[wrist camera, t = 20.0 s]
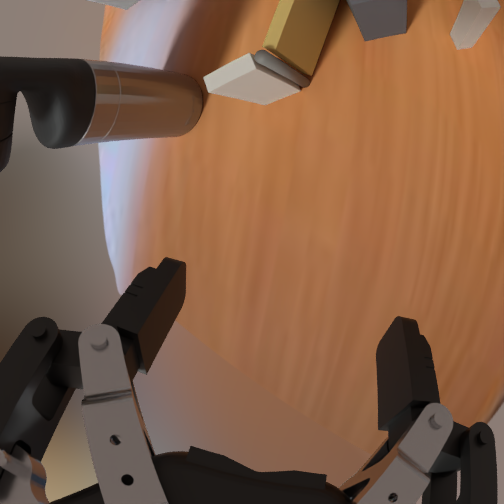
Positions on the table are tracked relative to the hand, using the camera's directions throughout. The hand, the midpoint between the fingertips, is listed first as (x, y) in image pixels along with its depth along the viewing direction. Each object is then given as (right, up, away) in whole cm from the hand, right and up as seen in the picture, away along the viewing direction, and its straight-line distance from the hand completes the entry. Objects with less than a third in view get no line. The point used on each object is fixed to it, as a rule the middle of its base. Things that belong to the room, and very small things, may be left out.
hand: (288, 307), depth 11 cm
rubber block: (+12, +28, +13) cm, 34 cm away
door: (+7, +29, +15) cm, 34 cm away
